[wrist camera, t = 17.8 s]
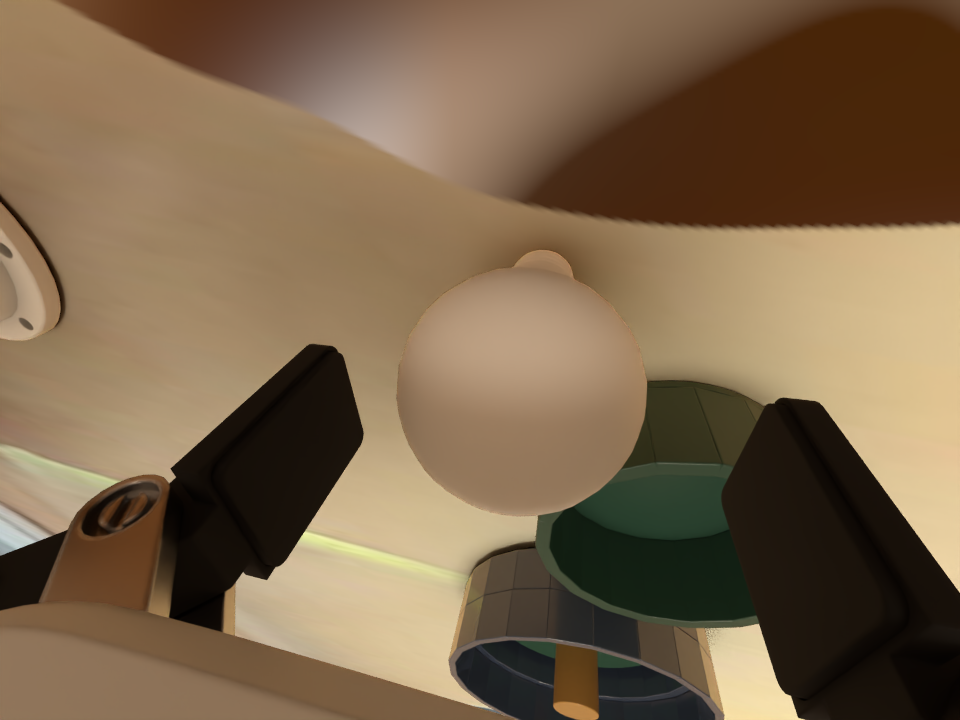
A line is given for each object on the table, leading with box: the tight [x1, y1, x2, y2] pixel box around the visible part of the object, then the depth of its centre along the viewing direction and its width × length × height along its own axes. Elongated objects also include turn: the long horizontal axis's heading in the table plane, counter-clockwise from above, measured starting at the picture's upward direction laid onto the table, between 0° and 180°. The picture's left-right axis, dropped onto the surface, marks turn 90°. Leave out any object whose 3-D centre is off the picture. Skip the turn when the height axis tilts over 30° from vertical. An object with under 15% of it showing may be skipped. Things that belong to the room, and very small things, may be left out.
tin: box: [535, 381, 764, 628], centre depth 19 cm, size 12×13×5 cm
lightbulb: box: [397, 250, 647, 516], centre depth 12 cm, size 6×6×11 cm
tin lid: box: [515, 640, 641, 720], centre depth 29 cm, size 13×13×6 cm
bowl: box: [449, 548, 724, 720], centre depth 29 cm, size 18×18×6 cm
